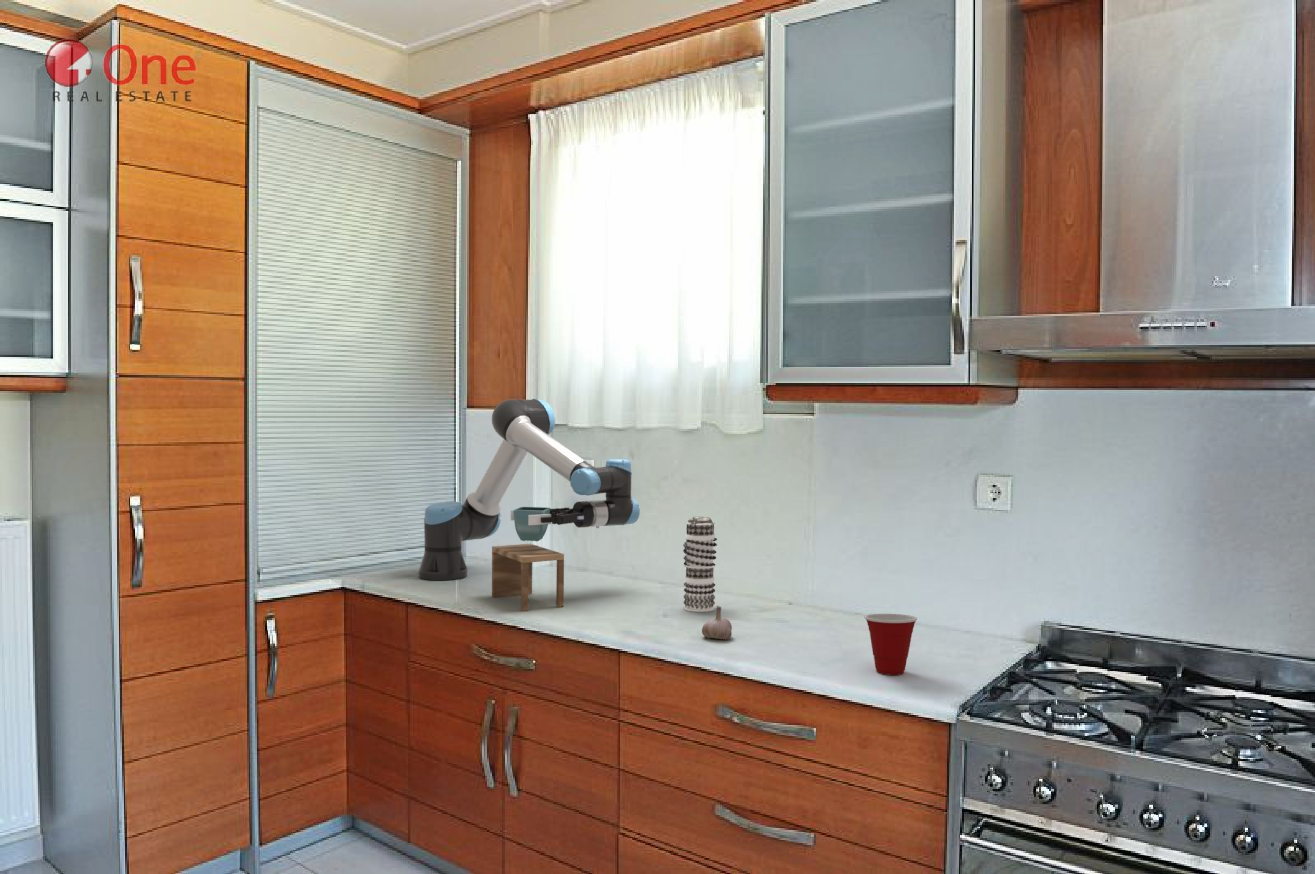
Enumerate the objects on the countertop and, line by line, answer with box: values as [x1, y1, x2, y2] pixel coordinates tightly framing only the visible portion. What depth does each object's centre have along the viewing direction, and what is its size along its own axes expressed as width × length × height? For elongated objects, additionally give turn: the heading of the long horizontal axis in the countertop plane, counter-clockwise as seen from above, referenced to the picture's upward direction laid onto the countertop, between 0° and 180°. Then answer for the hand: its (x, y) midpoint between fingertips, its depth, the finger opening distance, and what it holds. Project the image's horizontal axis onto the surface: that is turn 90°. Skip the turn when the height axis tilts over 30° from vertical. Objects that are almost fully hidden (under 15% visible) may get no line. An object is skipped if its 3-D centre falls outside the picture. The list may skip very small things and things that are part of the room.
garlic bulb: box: [701, 605, 733, 641], centre depth 233 cm, size 8×7×8 cm
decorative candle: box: [682, 516, 718, 613], centre depth 266 cm, size 9×9×25 cm
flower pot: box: [512, 506, 551, 542], centre depth 273 cm, size 9×9×9 cm
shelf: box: [491, 543, 565, 612], centre depth 273 cm, size 22×12×14 cm, turn 31°
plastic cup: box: [864, 613, 918, 676], centre depth 205 cm, size 11×11×12 cm
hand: (519, 517), depth 271 cm, fingers closed on flower pot, 12 cm apart
